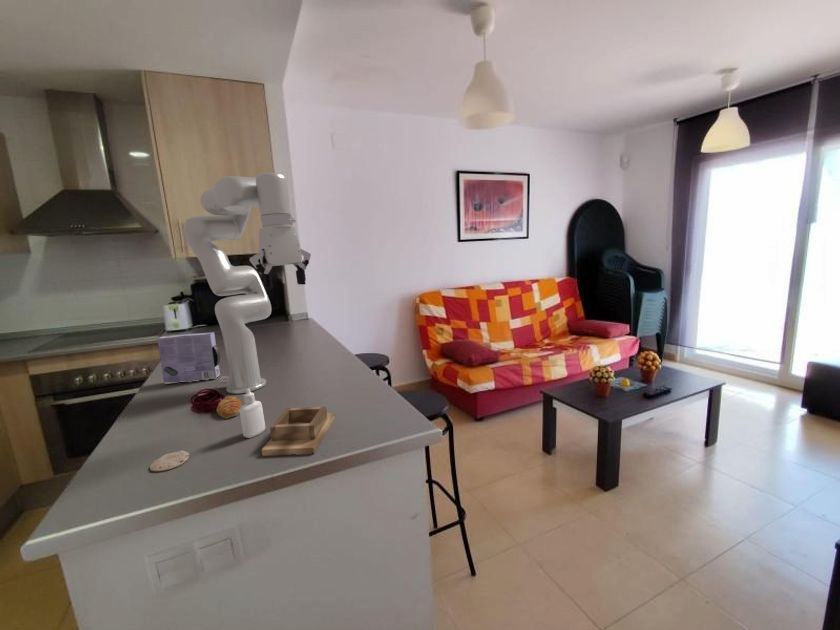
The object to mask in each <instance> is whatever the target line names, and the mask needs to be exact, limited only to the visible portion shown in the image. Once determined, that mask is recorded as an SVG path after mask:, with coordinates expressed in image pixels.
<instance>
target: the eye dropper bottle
mask: <svg viewBox="0 0 840 630" xmlns="http://www.w3.org/2000/svg"><path fill="white" fill-rule="evenodd" d="M243 401H244V404H243V405H242V407H241V408H240V413H239V417H240V424H241V430H242V436H243V437H244V438H247V439H252V438H254V437H257V436H258V435H260V434H262V433H263V432H264V431H265V430H266V423H265V415H264V410H263V409H264V408H263V405H262V402H261V401H260V400H256V398H255V393H254V392H252V391H251V392H250V389H246V393H243Z"/></svg>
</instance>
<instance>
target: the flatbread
mask: <svg viewBox="0 0 840 630" xmlns="http://www.w3.org/2000/svg"><path fill="white" fill-rule="evenodd" d="M189 457H190V453H189V452H188V451H185V450H183V449H182V450H179V451H174V452H171V453H165V454H162V456H160V457H158V458H157V459H155V460H153V462H152V463H151V465H150V466H149V470H150V471H151V472H164V471H166V472H167V471H169V470H172V469H175V468H178V467H181V466H182V465H183V464H185V463H186V462H187V461H188V460H189Z"/></svg>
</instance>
